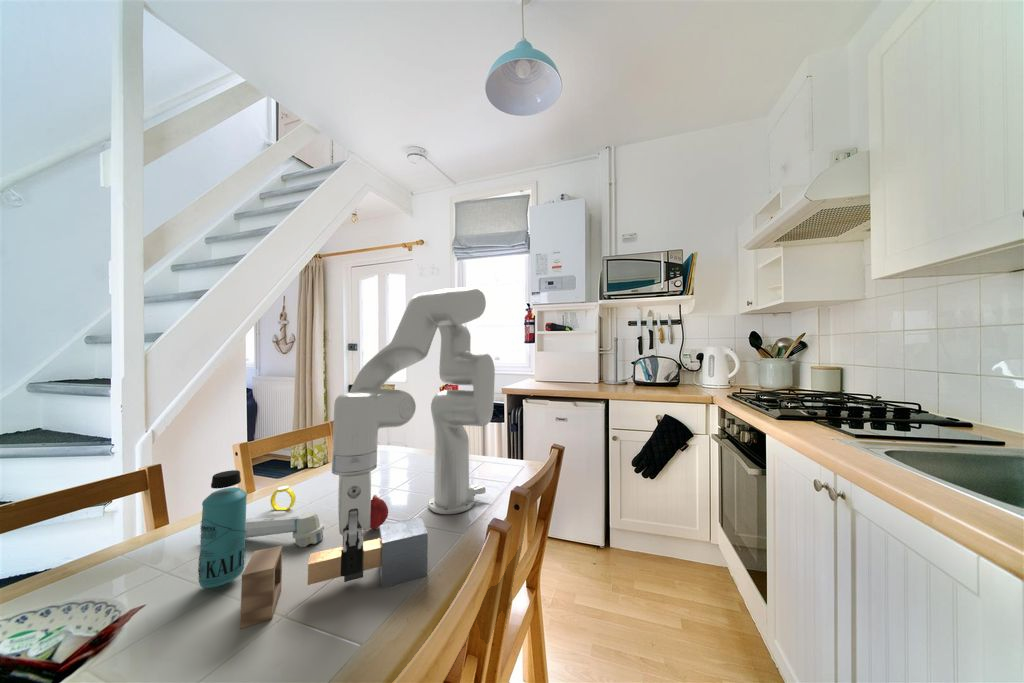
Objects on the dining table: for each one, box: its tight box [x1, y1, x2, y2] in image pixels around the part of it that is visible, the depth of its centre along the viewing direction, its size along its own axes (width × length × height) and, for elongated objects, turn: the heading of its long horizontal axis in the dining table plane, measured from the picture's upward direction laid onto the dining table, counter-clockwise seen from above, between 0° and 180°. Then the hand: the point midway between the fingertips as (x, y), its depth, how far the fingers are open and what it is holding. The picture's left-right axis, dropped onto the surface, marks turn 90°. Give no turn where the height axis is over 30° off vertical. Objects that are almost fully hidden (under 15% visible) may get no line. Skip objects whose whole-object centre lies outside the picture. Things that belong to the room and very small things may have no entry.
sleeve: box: [378, 516, 429, 589], centre depth 64 cm, size 8×7×8 cm
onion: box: [370, 494, 389, 530], centre depth 79 cm, size 6×6×8 cm
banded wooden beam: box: [307, 535, 382, 586], centre depth 61 cm, size 19×5×5 cm, turn 115°
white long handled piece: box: [245, 511, 325, 548], centre depth 74 cm, size 5×7×25 cm
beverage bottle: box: [197, 469, 248, 589], centre depth 60 cm, size 6×7×20 cm
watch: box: [270, 485, 296, 511], centre depth 90 cm, size 6×3×6 cm, turn 89°
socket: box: [239, 544, 283, 629], centre depth 54 cm, size 4×7×8 cm, turn 25°
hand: (351, 558), depth 60 cm, fingers open, 9 cm apart
